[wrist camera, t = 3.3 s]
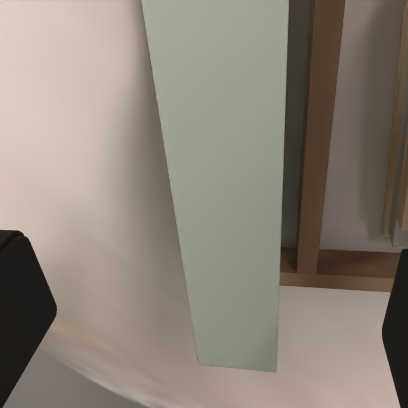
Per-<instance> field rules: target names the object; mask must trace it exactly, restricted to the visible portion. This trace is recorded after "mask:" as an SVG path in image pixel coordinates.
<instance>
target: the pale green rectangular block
mask: <svg viewBox="0 0 408 408" xmlns="http://www.w3.org/2000/svg"><path fill="white" fill-rule="evenodd" d="M141 2H142V9H143V15H144V21H145V28H146V34H147V40H148V47H149V53H150V59H151V66H152V72H153V78H154V85H155V91H156V98H157V104H158V110H159V117H160V123H161V129H162V136H163V142H164V148H165V155H166V161H167V167H168V174H169V180H170V186H171V193H172V199H173V206H174V212H175V218H176V225H177V231H178V237H179V244H180V250H181V256H182V263H183V269H184V275H185V282H186V288H187V294H188V301H189V307H190V313H191V320H192V326H193V333H194V339H195V345H196V352H197V358H198V364H200V365H210V366H220V367H229V368H239V369H249V370H258V371H268V372H276V367H277V338H278V308H279V279H280V249H281V220H282V190H283V161H284V131H285V102H286V72H287V43H288V13H289V0H141Z"/></svg>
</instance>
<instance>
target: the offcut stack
mask: <svg viewBox="0 0 408 408" xmlns="http://www.w3.org/2000/svg"><path fill="white" fill-rule="evenodd" d="M382 234H383V237H384V238H390V239H391V242H392V245H393V246H408V0H405V6H404V16H403V26H402V35H401V45H400V55H399V65H398V75H397V85H396V95H395V105H394V115H393V125H392V135H391V145H390V155H389V165H388V175H387V185H386V195H385V205H384V215H383V225H382Z"/></svg>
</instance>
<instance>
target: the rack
mask: <svg viewBox="0 0 408 408" xmlns="http://www.w3.org/2000/svg"><path fill="white" fill-rule="evenodd" d="M344 8H345V0H312V1H311V17H310V33H309V49H308V65H307V81H306V96H305V112H304V128H303V144H302V160H301V176H300V191H299V207H298V223H297V239H296V249H293V248H281V249H280V279H279V285H283V286H299V287H315V288H331V289H347V290H363V291H379V292H391V291H392V287H393V283H394V279H395V275H396V271H397V267H398V263H399V259H400V255H401V253H382V252H359V251H337V250H319V242H320V233H321V224H322V214H323V205H324V196H325V186H326V177H327V167H328V158H329V149H330V139H331V130H332V121H333V111H334V102H335V93H336V83H337V74H338V64H339V55H340V46H341V36H342V27H343V18H344Z"/></svg>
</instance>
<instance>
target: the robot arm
mask: <svg viewBox="0 0 408 408" xmlns="http://www.w3.org/2000/svg"><path fill="white" fill-rule="evenodd" d="M56 313H57V306H56V303H55V300H54V298H53V296H52V293H51V291H50V288H49V286H48V284H47V281H46V279H45V276H44V274H43V272H42V269H41V267H40V264H39V262H38V260H37V257H36V255H35V253H34V250H33V248H32V245H31V243H30V241H29V239H28V238H27V237H26V236H24V235H23V233H22V232H20V231H16V230H0V408H2V407H3V405H4V404H5V402H6V400H7V399H8V397H9V395H10V394H11V392H12V390H13V388H14V387H15V385H16V383H17V382H18V380H19V378H20V377H21V375H22V373H23V372H24V370H25V368H26V366H27V365H28V363H29V361H30V360H31V358H32V356H33V354H34V353H35V351H36V349H37V348H38V346H39V344H40V343H41V341H42V339H43V338H44V336H45V334H46V332H47V331H48V329H49V327H50V326H51V324H52V322H53V321H54V319H55V317H56ZM382 339H383V344H384V347H385V351H386V355H387V359H388V362H389V366H390V370H391V373H392V377H393V381H394V385H395V388H396V392H397V396H398V399H399V403H400V407H401V408H408V249H403V250H402V252H401V255H400V259H399V263H398V267H397V271H396V275H395V279H394V283H393V287H392V291H391V295H390V298H389V302H388V306H387V310H386V314H385V318H384V322H383V326H382Z"/></svg>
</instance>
